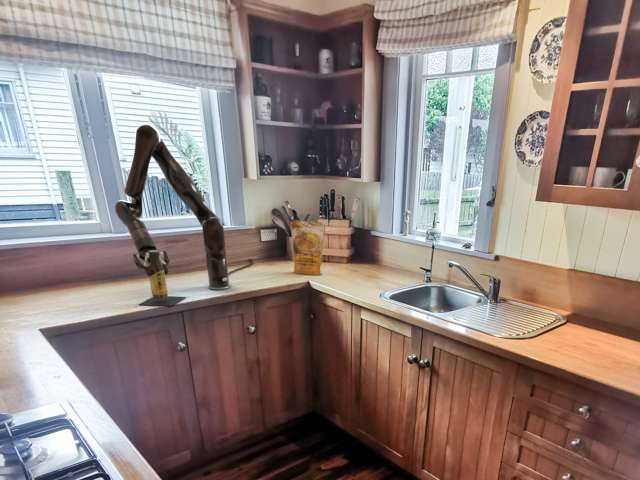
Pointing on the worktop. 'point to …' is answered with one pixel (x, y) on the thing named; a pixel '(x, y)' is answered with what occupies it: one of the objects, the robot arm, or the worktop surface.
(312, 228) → the pancake mix bag
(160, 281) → the sauce bottle
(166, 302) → the mat
